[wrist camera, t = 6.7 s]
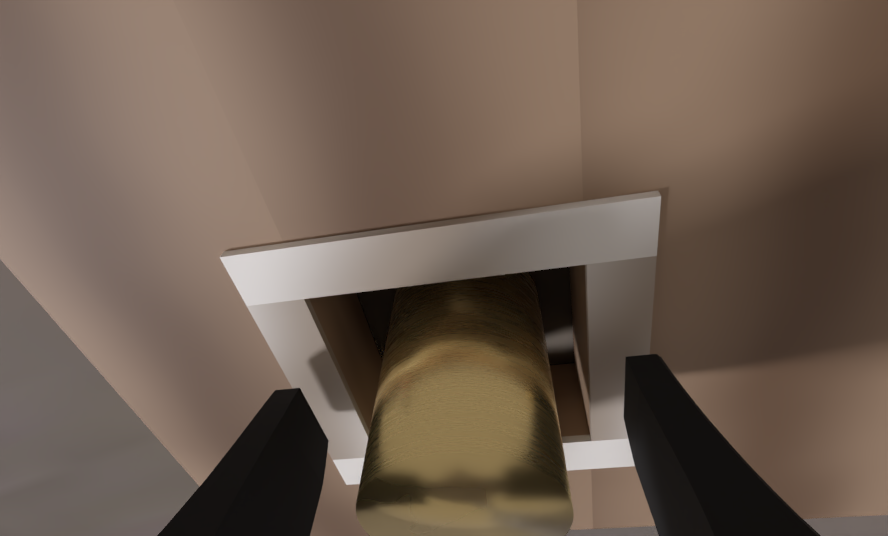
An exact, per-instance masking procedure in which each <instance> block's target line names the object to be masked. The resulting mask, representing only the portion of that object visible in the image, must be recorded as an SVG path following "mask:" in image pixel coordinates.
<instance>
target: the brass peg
mask: <svg viewBox="0 0 888 536" xmlns="http://www.w3.org/2000/svg"><path fill="white" fill-rule="evenodd" d="M356 514H357V518H358V521H359V523H360V524H361V526H362V527H363V529H364V530H365V531H366V533H368V534H369V535H370V536H565V535H566V534H567V533H568V531H569V530H570V528H571V526H572V522H573V518H574V513H573V505H572V499H571V493H570V486H569V480H568V474H567V468H566V462H565V456H564V450H563V444H562V438H561V432H560V425H559V419H558V413H557V407H556V401H555V395H554V389H553V383H552V377H551V370H550V364H549V358H548V352H547V346H546V340H545V334H544V328H543V322H542V315H541V309H540V303H539V297H538V292H537V288H536V285H535V283H534V281H533V279H532V277H531V276H530V274H529V273H528V272H521V273H513V274H505V275H497V276H488V277H480V278H472V279H464V280H456V281H448V282H439V283H431V284H423V285H415V286H407V287H399V288H396V292H395V297H394V302H393V308H392V313H391V318H390V324H389V329H388V334H387V340H386V345H385V351H384V356H383V361H382V367H381V372H380V377H379V383H378V388H377V394H376V399H375V404H374V410H373V415H372V421H371V426H370V431H369V437H368V442H367V447H366V453H365V458H364V464H363V469H362V474H361V480H360V485H359V491H358V496H357V501H356Z"/></svg>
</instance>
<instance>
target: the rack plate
mask: <svg viewBox="0 0 888 536" xmlns="http://www.w3.org/2000/svg"><path fill="white" fill-rule="evenodd" d="M0 259H1V260H2V261H3V263H4V264H5V265H6V266H7V267H8V268H9V269H10V271H11V272H12V273H13V274H14V275H15V276H16V277H17V279H18V280H19V281H20V282H21V283H22V284H23V285H24V287H25V288H26V289H27V290H28V291H29V292H30V293H31V295H32V296H33V297H34V298H35V299H36V300H37V301H38V303H39V304H40V305H41V306H42V307H43V308H44V309H45V311H46V312H47V313H48V314H49V315H50V316H51V317H52V318H53V320H54V321H55V322H56V323H57V324H58V325H59V326H60V328H61V329H62V330H63V331H64V332H65V333H66V334H67V336H68V337H69V338H70V339H71V340H72V341H73V342H74V344H75V345H76V346H77V347H78V348H79V349H80V350H81V352H82V353H83V354H84V355H85V356H86V357H87V358H88V360H89V361H90V362H91V363H92V364H93V365H94V366H95V368H96V369H97V370H98V371H99V372H100V373H101V374H102V376H103V377H104V378H105V379H106V380H107V381H108V382H109V384H110V385H111V386H112V387H113V388H114V389H115V390H116V392H117V393H118V394H119V395H120V396H121V397H122V398H123V400H124V401H125V402H126V403H127V404H128V405H129V406H130V407H131V409H132V410H133V411H134V412H135V413H136V414H137V415H138V417H139V418H140V419H141V420H142V421H143V422H144V423H145V425H146V426H147V427H148V428H149V429H150V430H151V431H152V433H153V434H154V435H155V436H156V437H157V438H158V439H159V441H160V442H161V443H162V444H163V445H164V446H165V447H166V449H167V450H168V451H169V452H170V453H171V454H172V455H173V457H174V458H175V459H176V460H177V461H178V462H179V463H180V465H181V466H182V467H183V468H184V469H185V470H186V471H187V473H188V474H189V475H190V476H191V477H192V478H193V479H194V481H195V482H196V483H197V484H198V485H199V486H201V485H202V483H203V482H204V481H205V480H206V478H207V477H208V476H209V475H210V473H211V472H212V471H213V470H214V468H215V467H216V466H217V465H218V463H219V462H220V461H221V459H222V458H223V457H224V456H225V454H226V453H227V452H228V451H229V449H230V448H231V447H232V445H233V444H234V443H235V442H236V440H237V439H238V438H239V436H240V435H241V434H242V432H243V431H244V430H245V428H246V427H247V426H248V425H249V423H250V422H251V421H252V419H253V418H254V417H255V415H256V414H257V413H258V411H259V410H260V409H261V408H262V406H263V405H264V404H265V402H266V401H267V400H268V399H269V397H270V396H271V395H272V393H273V392H274V391H275V390H282V389H293V388H300V389H301V391H302V393H303V395H304V396H305V398H306V400H307V402H308V404H309V406H310V407H311V409H312V411H313V413H314V415H315V417H316V418H317V420H318V422H319V424H320V426H321V428H322V430H323V431H324V433H325V435H326V437H327V439H328V441H329V442H328V451H327V459H326V467H325V474H324V480H323V486H322V490H321V495H320V499H319V503H318V506H317V510H316V514H315V518H314V522H313V526H312V530H311V534H310V536H370V535H369V534H368V533H366V531H365V530H364V529H363V527H362V526H361V524H360V523H359V521H358V518H357V514H356V501H357V496H358V491H359V485H360V480H361V474H362V469H363V464H364V458H365V453H366V447H367V442H368V437H369V431H370V426H371V421H372V415H373V410H374V404H375V399H376V394H377V388H378V383H379V377H380V372H381V367H382V359H381V357H380V354H379V352H378V349H377V346H376V344H375V341H374V338H373V336H372V333H371V331H370V328H369V325H368V323H367V320H366V317H365V315H364V312H363V309H362V307H361V304H360V302H359V299H358V296H357V294H356V293H358V292H366V291H374V290H382V289H390V288H399V287H407V286H415V285H423V284H431V283H439V282H448V281H456V280H464V279H472V278H480V277H488V276H497V275H505V274H513V273H521V272H529V271H537V270H545V269H554V268H562V267H570V285H571V304H572V323H573V342H574V360H575V363H571V364H560V365H550V370H551V377H552V383H553V389H554V395H555V401H556V407H557V413H558V419H559V425H560V432H561V438H562V444H563V450H564V456H565V462H566V468H567V474H568V480H569V486H570V493H571V499H572V505H573V513H574V518H573V522H572V526H571V528H570V530H580V529H601V528H622V527H643V526H656V525H655V523H654V520H653V517H652V514H651V511H650V508H649V505H648V503H647V500H646V497H645V494H644V491H643V488H642V485H641V482H640V479H639V476H638V474H637V471H636V468H635V465H634V460H633V456H632V452H631V448H630V444H629V439H628V435H627V431H626V426H625V422H624V390H625V360H626V357H628V356H639V355H649V354H657V355H659V356H660V357H662V359H663V360H664V362H665V363H666V365H667V366H668V368H669V369H670V370H671V372H672V373H673V374H674V376H675V377H676V379H677V380H678V381H679V383H680V384H681V385H682V386H683V388H684V389H685V390H686V392H687V393H688V394H689V395H690V397H691V398H692V399H693V400H694V402H695V403H696V404H697V405H698V407H699V408H700V409H701V410H702V412H703V413H704V414H705V415H706V416H707V418H708V419H709V420H710V421H711V422H712V424H713V425H714V426H715V427H716V428H717V429H718V430H719V432H720V433H721V434H722V435H723V436H724V437H725V438H726V440H727V441H728V442H729V443H730V444H731V445H732V446H733V448H734V449H735V450H736V451H737V452H738V453H739V454H740V455H741V457H742V458H743V459H744V460H745V461H746V462H747V463H748V464H749V465H750V466H751V467H752V468H753V469H754V471H755V472H756V473H757V474H758V475H759V476H760V477H761V478H762V479H763V480H764V481H765V482H766V483H767V484H768V485H769V486H770V487H771V488H772V489H773V490H774V491H775V492H776V493H777V494H778V495H779V496H780V497H781V498H782V499H783V500H784V501H785V502H786V503H787V504H788V505H789V506H790V507H791V508H792V509H793V510H794V511H795V512H796V513H797V514H798V515H799V516H800V517H801V518H802V519H810V518H831V517H852V516H873V515H888V0H0Z"/></svg>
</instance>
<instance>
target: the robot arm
mask: <svg viewBox="0 0 888 536" xmlns="http://www.w3.org/2000/svg"><path fill="white" fill-rule="evenodd" d="M624 422H625V426H626V431H627V435H628V439H629V444H630V448H631V452H632V456H633V460H634V465H635V468H636V471H637V474H638V476H639V479H640V482H641V485H642V488H643V491H644V494H645V497H646V500H647V503H648V505H649V508H650V511H651V514H652V517H653V520H654V523H655V525H656V528H657V531H658V534H659V536H820V535H819V534H818V533H817V532H816V531H815V530H814V529H813V528H812V527H811V526H810V525H808V524H807V523H806V522H805V521H804V520H803V519H802V518H801V517H800V516H799V515H798V514H797V513H796V512H795V511H794V510H793V509H792V508H791V507H790V506H789V505H788V504H787V503H786V502H785V501H784V500H783V499H782V498H781V497H780V496H779V495H778V494H777V493H776V492H775V491H774V490H773V489H772V488H771V487H770V486H769V485H768V484H767V483H766V482H765V481H764V480H763V479H762V478H761V477H760V476H759V475H758V474H757V473H756V472H755V471H754V469H753V468H752V467H751V466H750V465H749V464H748V463H747V462H746V461H745V460H744V459H743V458H742V457H741V455H740V454H739V453H738V452H737V451H736V450H735V449H734V448H733V446H732V445H731V444H730V443H729V442H728V441H727V440H726V438H725V437H724V436H723V435H722V434H721V433H720V432H719V430H718V429H717V428H716V427H715V426H714V425H713V424H712V422H711V421H710V420H709V419H708V418H707V416H706V415H705V414H704V413H703V412H702V410H701V409H700V408H699V407H698V405H697V404H696V403H695V402H694V400H693V399H692V398H691V397H690V395H689V394H688V393H687V392H686V390H685V389H684V388H683V386H682V385H681V384H680V383H679V381H678V380H677V379H676V377H675V376H674V374H673V373H672V372H671V370H670V369H669V368H668V366H667V365H666V363H665V362H664V360H663V359H662V357H660V356H659V355H657V354H649V355H639V356H628V357H626V360H625V390H624ZM328 442H329V441H328V439H327V437H326V435H325V433H324V431H323V430H322V428H321V426H320V424H319V422H318V420H317V418H316V417H315V415H314V413H313V411H312V409H311V407H310V406H309V404H308V402H307V400H306V398H305V396H304V395H303V393H302V391H301V389H300V388H293V389H282V390H275V391H274V392H273V393H272V395H271V396H270V397H269V399H268V400H267V401H266V402H265V404H264V405H263V406H262V408H261V409H260V410H259V411H258V413H257V414H256V415H255V417H254V418H253V419H252V421H251V422H250V423H249V425H248V426H247V427H246V428H245V430H244V431H243V432H242V434H241V435H240V436H239V438H238V439H237V440H236V442H235V443H234V444H233V445H232V447H231V448H230V449H229V451H228V452H227V453H226V454H225V456H224V457H223V458H222V459H221V461H220V462H219V463H218V465H217V466H216V467H215V468H214V470H213V471H212V472H211V473H210V475H209V476H208V477H207V478H206V480H205V481H204V482H203V483H202V485H201V486H200V487H199V488H198V489H197V490H196V492H195V493H194V494H193V495H192V496H191V498H190V499H189V500H188V501H187V502H186V503H185V505H184V506H183V507H182V508H181V509H180V511H179V512H178V513H177V514H176V515H175V516H174V518H173V519H172V520H171V521H170V522H169V523H168V524H167V526H166V527H165V528H164V529H163V530H162V531H161V532H160V533H159V534H158V536H310V534H311V530H312V526H313V522H314V518H315V514H316V510H317V506H318V503H319V499H320V495H321V490H322V486H323V480H324V474H325V467H326V459H327V451H328Z"/></svg>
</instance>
